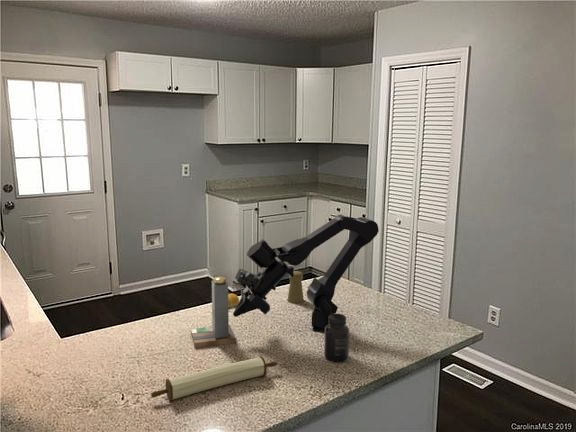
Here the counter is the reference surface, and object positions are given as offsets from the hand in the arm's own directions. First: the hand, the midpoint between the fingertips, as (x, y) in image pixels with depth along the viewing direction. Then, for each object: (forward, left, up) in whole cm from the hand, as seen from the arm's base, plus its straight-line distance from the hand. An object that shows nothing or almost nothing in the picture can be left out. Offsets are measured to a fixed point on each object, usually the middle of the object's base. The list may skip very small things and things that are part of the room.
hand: (234, 315), depth 140 cm
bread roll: (+10, -26, -8) cm, 29 cm away
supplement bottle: (-31, +6, -7) cm, 32 cm away
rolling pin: (-3, +26, -8) cm, 28 cm away
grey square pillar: (+5, 0, -5) cm, 7 cm away
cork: (-14, -35, -7) cm, 38 cm away
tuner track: (+6, +1, -7) cm, 10 cm away
